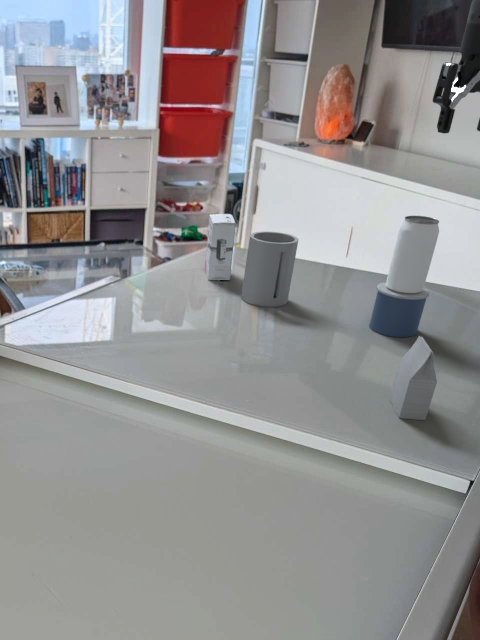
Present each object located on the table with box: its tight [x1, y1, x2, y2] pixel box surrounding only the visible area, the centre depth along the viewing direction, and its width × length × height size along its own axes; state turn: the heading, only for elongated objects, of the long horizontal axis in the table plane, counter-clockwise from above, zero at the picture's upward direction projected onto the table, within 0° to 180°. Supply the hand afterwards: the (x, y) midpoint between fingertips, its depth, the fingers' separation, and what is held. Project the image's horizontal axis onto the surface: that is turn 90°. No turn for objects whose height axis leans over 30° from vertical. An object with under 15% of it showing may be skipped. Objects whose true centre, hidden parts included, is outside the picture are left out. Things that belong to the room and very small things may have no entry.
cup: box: [240, 231, 299, 308], centre depth 149 cm, size 9×9×12 cm
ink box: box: [204, 213, 237, 281], centre depth 161 cm, size 9×5×12 cm, turn 178°
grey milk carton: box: [388, 335, 438, 421], centre depth 109 cm, size 4×7×10 cm, turn 173°
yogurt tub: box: [368, 281, 430, 338], centre depth 138 cm, size 9×9×7 cm
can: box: [385, 215, 440, 294], centre depth 133 cm, size 6×6×12 cm
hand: (462, 132), depth 131 cm, fingers open, 8 cm apart
